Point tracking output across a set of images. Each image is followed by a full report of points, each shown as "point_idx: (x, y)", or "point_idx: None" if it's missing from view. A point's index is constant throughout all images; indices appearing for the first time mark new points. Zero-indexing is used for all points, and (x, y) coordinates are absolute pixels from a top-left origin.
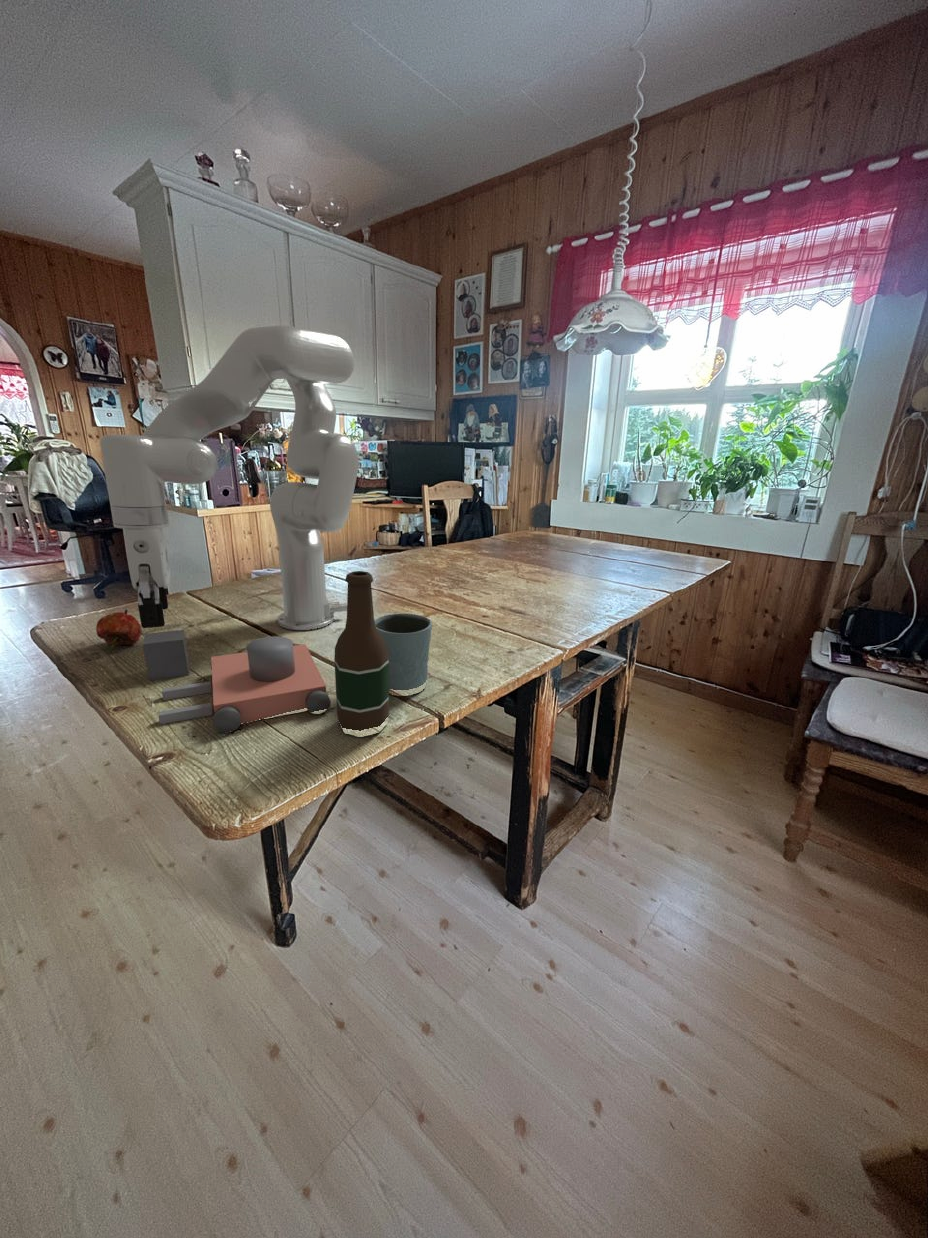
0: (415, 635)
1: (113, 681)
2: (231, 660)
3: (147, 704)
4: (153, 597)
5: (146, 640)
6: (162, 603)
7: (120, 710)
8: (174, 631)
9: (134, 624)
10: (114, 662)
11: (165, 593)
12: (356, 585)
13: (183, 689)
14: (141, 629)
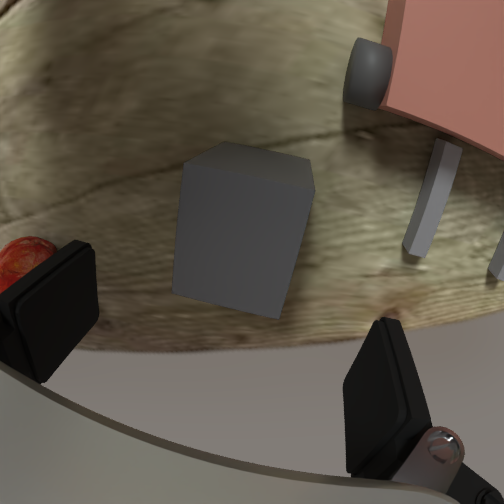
0: None
1: (240, 312)
2: (452, 66)
3: (410, 276)
4: (478, 486)
5: (245, 303)
6: (78, 277)
7: (397, 318)
8: (190, 201)
9: (26, 265)
10: (132, 292)
11: (35, 285)
12: None
13: (442, 211)
14: (24, 239)
